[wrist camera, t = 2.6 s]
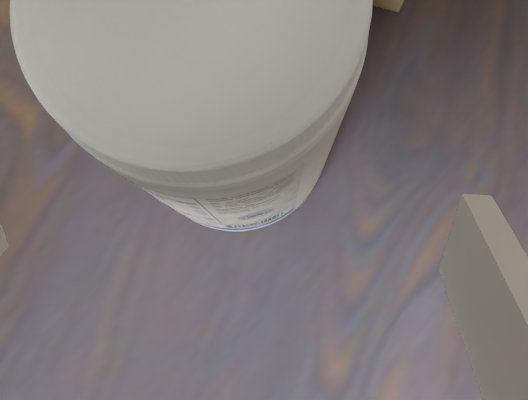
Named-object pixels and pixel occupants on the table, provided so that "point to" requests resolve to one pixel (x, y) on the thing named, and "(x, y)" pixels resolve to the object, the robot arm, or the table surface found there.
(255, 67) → the supplement tub
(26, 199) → the table surface
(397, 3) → the wooden cube
